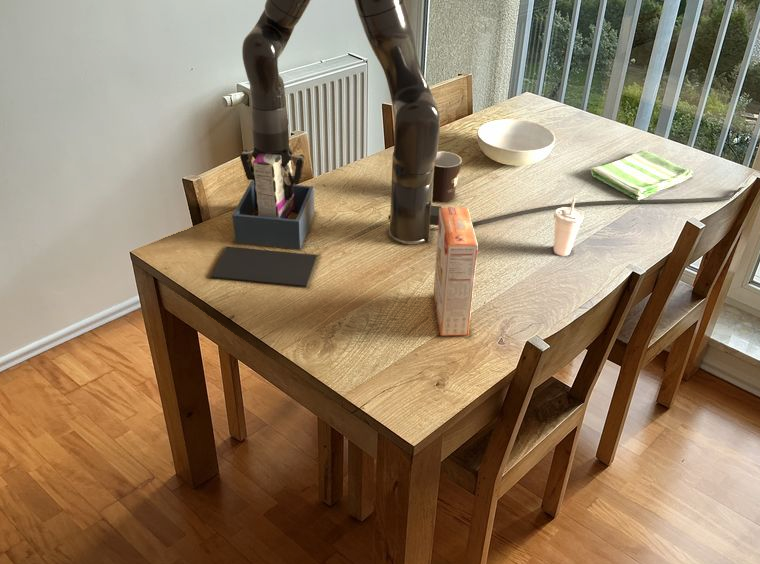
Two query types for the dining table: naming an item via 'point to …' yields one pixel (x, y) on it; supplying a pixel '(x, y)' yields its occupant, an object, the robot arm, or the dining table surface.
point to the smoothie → (566, 228)
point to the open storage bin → (273, 221)
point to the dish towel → (641, 174)
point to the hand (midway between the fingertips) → (275, 197)
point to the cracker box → (454, 270)
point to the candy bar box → (271, 187)
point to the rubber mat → (265, 266)
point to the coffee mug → (445, 176)
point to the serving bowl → (515, 141)
